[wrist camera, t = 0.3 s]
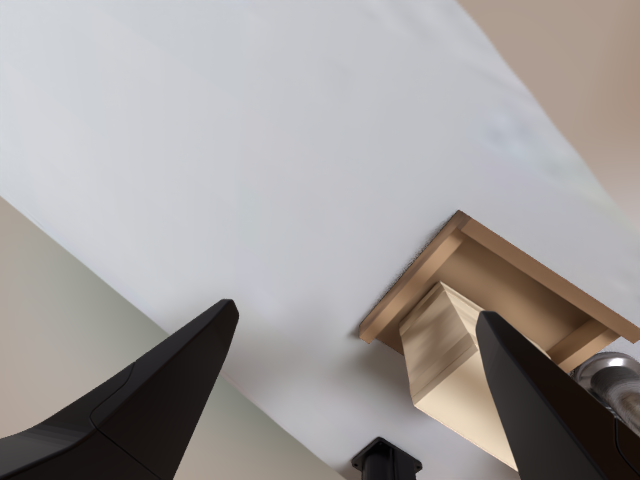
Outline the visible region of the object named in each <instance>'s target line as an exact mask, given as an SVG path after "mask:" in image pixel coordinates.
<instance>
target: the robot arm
mask: <svg viewBox="0 0 640 480" xmlns="http://www.w3.org/2000/svg"><path fill="white" fill-rule="evenodd" d="M238 320H239V312H238V310H237V307H236V305H235V303H234V301H233V300H232V299H222V300H220V301H219V302H217V303H216V304H214V305H213V306H212V307H210V308H209V309H207V310H206V311H205V312H203V313H202V314H200V315H199V316H198V317H196V318H195V319H193V320H192V321H191V322H189V323H188V324H186V325H185V326H184V327H182V328H181V329H179V330H178V331H177V332H175V333H174V334H172V335H171V336H170V337H168V338H167V339H165V340H164V341H163V342H161V343H160V344H158V345H157V346H155V347H154V348H153V349H151V350H150V351H149V352H147V353H146V354H144V355H143V356H141V357H140V358H139V359H137V360H136V362H133V363H131V364H130V365H129V366H127V367H126V368H124V369H123V370H122V371H120V372H119V373H117V374H116V375H114V376H113V377H111V378H110V379H109V380H107V381H106V382H104V383H102V384H101V385H99V386H98V387H96V388H95V389H93V390H92V391H90V392H89V393H87V394H86V395H84V396H82V397H81V398H79V399H78V400H76V401H75V402H73V403H71V404H70V405H69V406H67V407H65V408H63V409H62V410H60V411H59V412H57V413H56V414H54V415H53V416H51V417H50V418H48V419H46V420H44V421H43V422H41V423H39V424H37V425H35V426H33V427H32V428H29V429H27V430H25V431H22V432H20V433H17V434H14V435H11V436H8V437H5V438H1V439H0V480H173V478H174V476H175V473H176V471H177V469H178V466H179V464H180V462H181V460H182V457H183V455H184V453H185V450H186V448H187V446H188V443H189V441H190V439H191V437H192V434H193V432H194V430H195V427H196V425H197V423H198V420H199V418H200V416H201V414H202V411H203V409H204V407H205V404H206V402H207V400H208V397H209V395H210V393H211V391H212V388H213V386H214V384H215V381H216V379H217V377H218V375H219V372H220V370H221V368H222V365H223V363H224V361H225V358H226V356H227V353H228V351H229V348H230V345H231V341H232V338H233V335H234V332H235V329H236V326H237V323H238ZM475 332H476V337H477V341H478V346H479V350H480V355H481V359H482V363H483V368H484V372H485V376H486V380H487V383H488V386H489V389H490V392H491V395H492V398H493V401H494V404H495V406H496V409H497V412H498V415H499V418H500V421H501V424H502V426H503V429H504V432H505V435H506V438H507V441H508V443H509V446H510V449H511V452H512V455H513V458H514V461H515V463H516V466H517V469H518V472H519V475H520V478H521V480H640V436H638V435H637V434H636V433H635V432H634V431H633V430H631V429H630V428H629V427H628V426H627V425H626V424H624V423H623V422H622V421H621V420H620V419H619V418H615V416H614V414H613V413H612V412H611V411H609V410H608V409H607V408H606V407H605V406H604V405H603V404H601V403H600V402H599V401H598V400H597V399H596V398H595V397H593V396H592V395H591V394H590V393H589V392H588V391H586V390H585V389H584V388H583V387H582V386H581V385H580V384H578V383H577V382H576V381H575V380H574V379H573V378H572V377H570V376H569V375H568V374H567V373H566V372H565V371H564V370H562V369H561V368H560V367H559V366H558V365H557V364H556V363H554V362H553V361H552V360H551V359H550V358H549V357H547V356H546V355H545V354H544V353H543V352H542V351H541V350H539V349H538V348H537V347H536V346H535V345H534V344H533V343H531V342H530V341H529V340H528V339H527V338H526V337H525V336H523V335H522V334H521V333H520V332H519V331H518V330H517V329H515V328H514V327H513V326H512V325H511V324H510V323H508V322H507V321H506V320H505V319H504V318H503V317H502V316H500V315H499V314H498V313H497V312H495V311H487V310H482V311H480V313H479V316H478V320H477V323H476V327H475ZM352 466H353V467H355V468H356V469H358V470H359V471H361V472H362V480H416V475H415V474H416V473H417V472H419V471H420V470H422V463H421V462H420V461H418V460H417V459H415V458H413V457H412V456H410V455H409V454H407V453H405V452H404V451H402V450H401V449H399V448H397V447H396V446H394V445H393V444H391V443H389V442H388V441H386V440H385V439H383V438H378V439H376V440H375V441H374V442H373V443H372V444H371V445H369V446H368V447H367V448H366V449H365V450H363V451H362V452H361V453H360V454H359V455H358V456H356V457H355V458H354V459H353V460H352Z"/></svg>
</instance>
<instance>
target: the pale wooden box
mask: <svg viewBox="0 0 640 480" xmlns="http://www.w3.org/2000/svg"><path fill="white" fill-rule="evenodd" d="M482 310H484V309H482V308H481V307H479V306H478V305H476V304H475V303H473V302H472V301H470V300H469V299H467V298H465V297H464V296H462V295H461V294H459V293H458V292H456V291H455V290H453V289H452V288H450V287H448V286H447V285H445V284H444V283H442V282H441V281H439V282H438V283H437V284H436V285H435V286H434V287H433V288H432V289H431V290H430V292H429V293H428V294H427V295H426V296H425V297H424V298H423V299H422V300H421V301H420V302H419V303H418V304H417V305H416V306H415V308H414V309H413V310H412V311H411V312H410V313H409V314H408V315H407V316H406V317H405V318H404V319H403V320H402V321H401V322H400V324H399V327H400V329H399V331H400V336H401V338H402V344H403V349H404V355H405V360H406V366H407V372H408V377H409V383H410V386H409V388H410V394H411V398H412V400H413V405H414V406H415V407H416V408H418V409H419V410H421V411H423V412H424V413H426V414H427V415H429V416H431V417H432V418H434V419H435V420H437V421H438V422H440V423H442V424H443V425H445V426H446V427H448V428H450V429H451V430H453V431H454V432H456V433H457V434H459V435H461V436H462V437H464V438H465V439H467V440H469V441H470V442H472V443H473V444H475V445H476V446H478V447H480V448H481V449H483V450H484V451H486V452H488V453H489V454H491V455H492V456H494V457H495V458H497V459H499V460H500V461H502V462H503V463H505V464H507V465H508V466H510V467H511V468H513V469H514V470H516V471H518V469H517V466H516V463H515V461H514V458H513V455H512V452H511V449H510V446H509V443H508V441H507V438H506V435H505V432H504V429H503V426H502V424H501V421H500V418H499V415H498V412H497V409H496V406H495V404H494V401H493V398H492V395H491V392H490V389H489V386H488V383H487V380H486V376H485V372H484V368H483V363H482V359H481V355H480V350H479V346H478V341H477V337H476V332H475V327H476V323H477V320H478V316H479V313H480V311H482ZM522 335H523V334H522ZM523 336H524V335H523ZM525 337H526V336H525ZM526 338H527V337H526ZM527 339H528V340H529V341H530V342H531V343H533V344H534V345H535V346H536V347H537V348H538V349H539V350H541V351H542V352H543V353H544V354H545V355H546V356H547V357H549V356H548V354H547V353H546V352H545V351H544V350H543V349H541V348H540V346H539V345H538V344H536V343H535V342H533V341H532V340H530V339H529V338H527ZM549 358H550V357H549ZM550 359H551V358H550Z"/></svg>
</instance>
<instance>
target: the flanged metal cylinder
mask: <svg viewBox="0 0 640 480" xmlns="http://www.w3.org/2000/svg"><path fill="white" fill-rule="evenodd" d="M574 380H575V381H576V382H577V383H578V384H580V385H581V386H582V387H583V388H584V389H585V390H586V391H588V392H589V393H590V394H591V395H592V396H593V397H595V398H596V399H597V400H598V401H599V402H605V403H606V404H607V405H608V406H609V407H610V408H611V409H612V410H613V411H614V412H615V413H616V414H617V416H618V417H619V418H620V419H621V420H622V421H623V422H624V423H625V424H626V425H627V426H628V427H629V428H630V429H631V430H633V431H634V432H635V433H636V434H637V435H638V436H640V363H639V362H637V361H636V360H635V359H634V358H632V357H630V356H629V355H626V354H623V353H618V352H604V353H599V354H595V355H593V356H592V357H590V358H589V359H587V360H586V361H584V362H583V363H582V364H580V365H579V366H577V368H576V369H575V372H574Z"/></svg>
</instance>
